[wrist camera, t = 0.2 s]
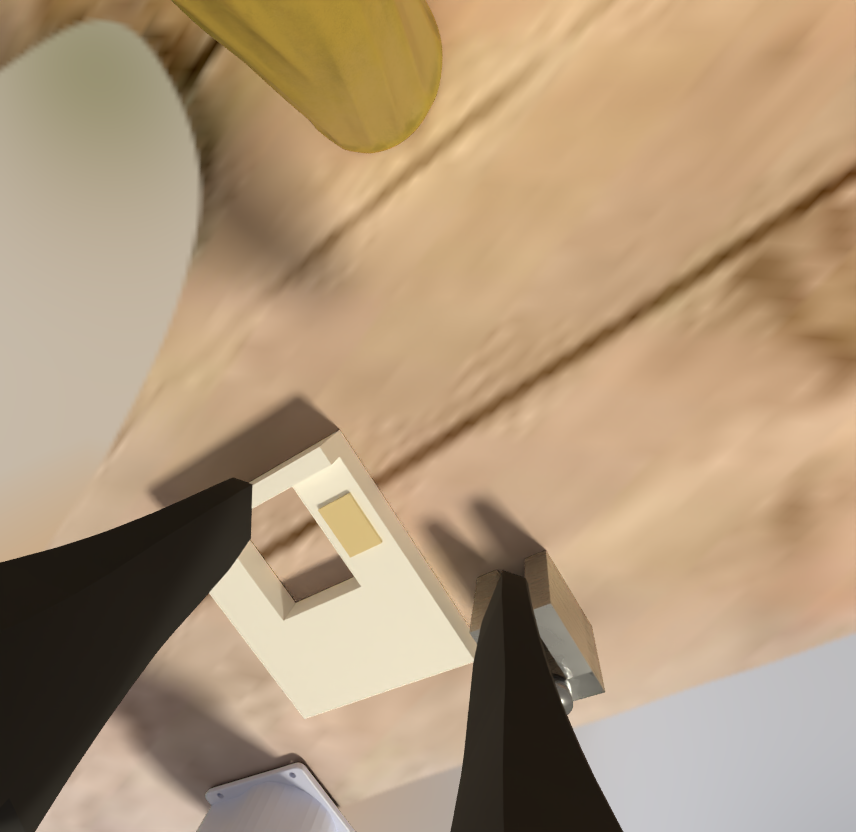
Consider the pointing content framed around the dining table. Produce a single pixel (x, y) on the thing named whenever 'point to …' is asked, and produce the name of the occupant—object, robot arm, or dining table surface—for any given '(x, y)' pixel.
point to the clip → (552, 628)
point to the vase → (337, 60)
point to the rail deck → (344, 594)
